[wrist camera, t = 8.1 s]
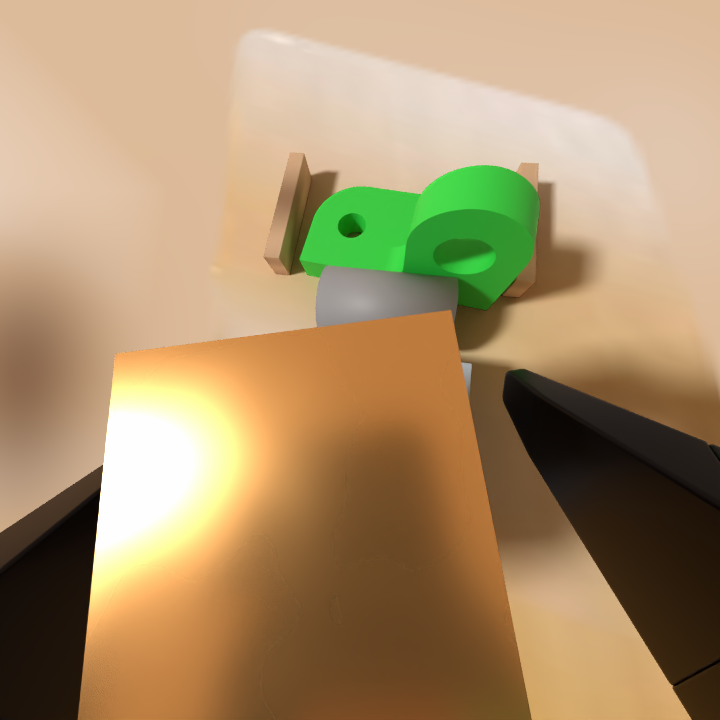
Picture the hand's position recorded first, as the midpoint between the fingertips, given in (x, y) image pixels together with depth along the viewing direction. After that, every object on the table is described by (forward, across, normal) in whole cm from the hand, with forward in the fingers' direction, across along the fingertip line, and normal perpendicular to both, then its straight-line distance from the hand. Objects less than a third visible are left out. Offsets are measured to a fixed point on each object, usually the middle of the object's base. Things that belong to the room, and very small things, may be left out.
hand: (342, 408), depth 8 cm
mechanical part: (+14, -4, -1) cm, 15 cm away
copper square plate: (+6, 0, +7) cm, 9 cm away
